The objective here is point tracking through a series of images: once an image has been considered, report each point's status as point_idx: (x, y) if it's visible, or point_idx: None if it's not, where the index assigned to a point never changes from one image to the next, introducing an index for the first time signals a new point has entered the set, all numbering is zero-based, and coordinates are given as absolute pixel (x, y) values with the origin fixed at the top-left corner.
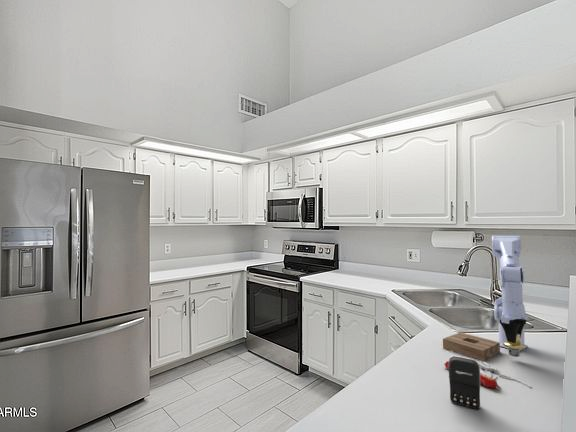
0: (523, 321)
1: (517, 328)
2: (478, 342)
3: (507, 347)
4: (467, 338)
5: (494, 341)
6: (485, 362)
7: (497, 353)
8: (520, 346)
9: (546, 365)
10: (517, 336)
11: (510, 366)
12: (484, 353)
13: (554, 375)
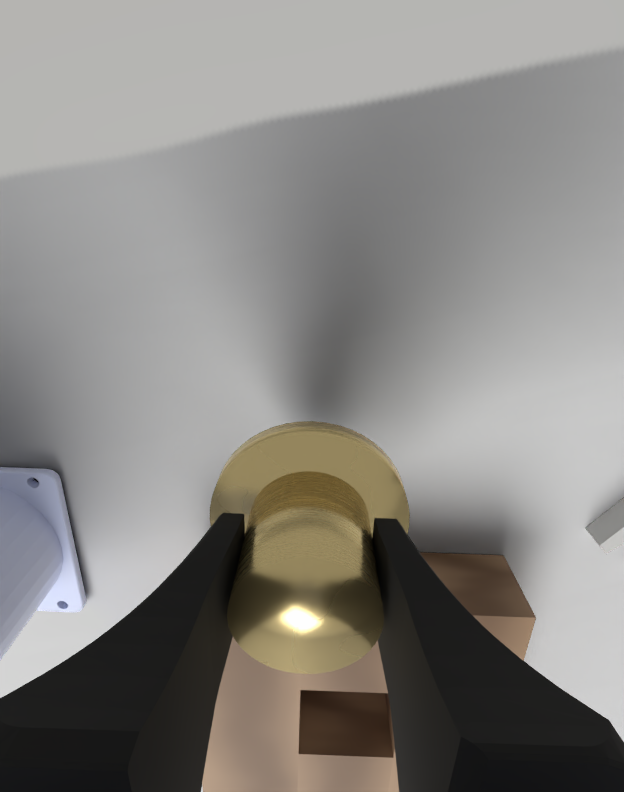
0: (138, 769)
1: (492, 674)
2: (349, 687)
3: (70, 541)
4: (298, 746)
5: None
6: (612, 538)
7: None
8: (350, 459)
9: (183, 243)
10: (351, 558)
11: (467, 419)
12: (506, 594)
13: (395, 130)
